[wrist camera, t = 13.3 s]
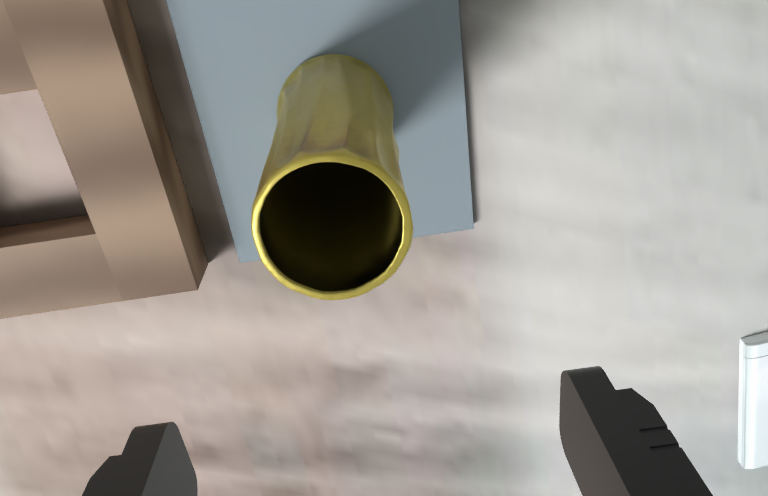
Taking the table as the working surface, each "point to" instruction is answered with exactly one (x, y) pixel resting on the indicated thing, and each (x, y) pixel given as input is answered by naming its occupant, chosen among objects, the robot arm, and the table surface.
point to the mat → (316, 38)
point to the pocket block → (95, 164)
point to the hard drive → (753, 401)
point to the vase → (332, 183)
